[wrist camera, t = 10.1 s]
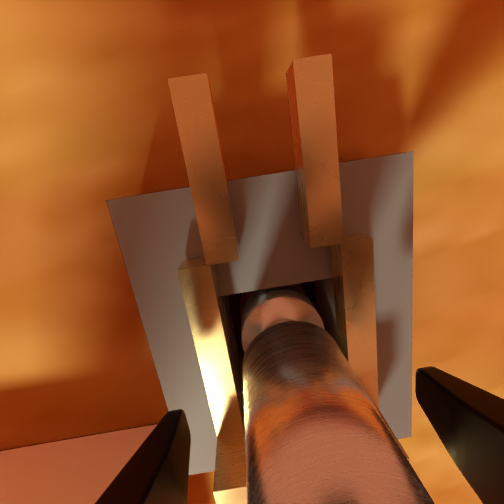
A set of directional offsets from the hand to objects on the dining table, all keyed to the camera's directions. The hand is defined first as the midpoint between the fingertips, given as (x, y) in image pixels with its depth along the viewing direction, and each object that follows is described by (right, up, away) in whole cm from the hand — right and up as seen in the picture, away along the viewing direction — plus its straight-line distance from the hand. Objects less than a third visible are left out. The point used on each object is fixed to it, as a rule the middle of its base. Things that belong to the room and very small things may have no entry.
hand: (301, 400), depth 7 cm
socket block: (0, +2, +6) cm, 6 cm away
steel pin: (0, +2, +6) cm, 6 cm away
